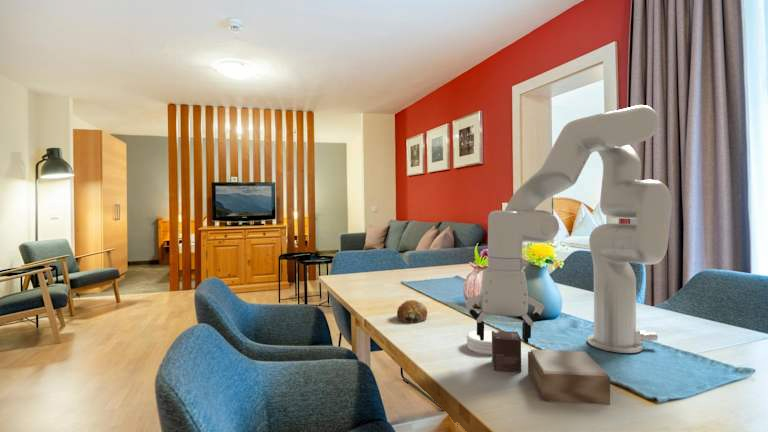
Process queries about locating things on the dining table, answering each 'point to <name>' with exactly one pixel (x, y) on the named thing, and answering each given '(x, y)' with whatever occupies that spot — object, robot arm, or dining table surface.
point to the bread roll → (412, 312)
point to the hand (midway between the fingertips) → (503, 339)
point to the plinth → (568, 377)
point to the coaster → (480, 342)
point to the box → (506, 351)
